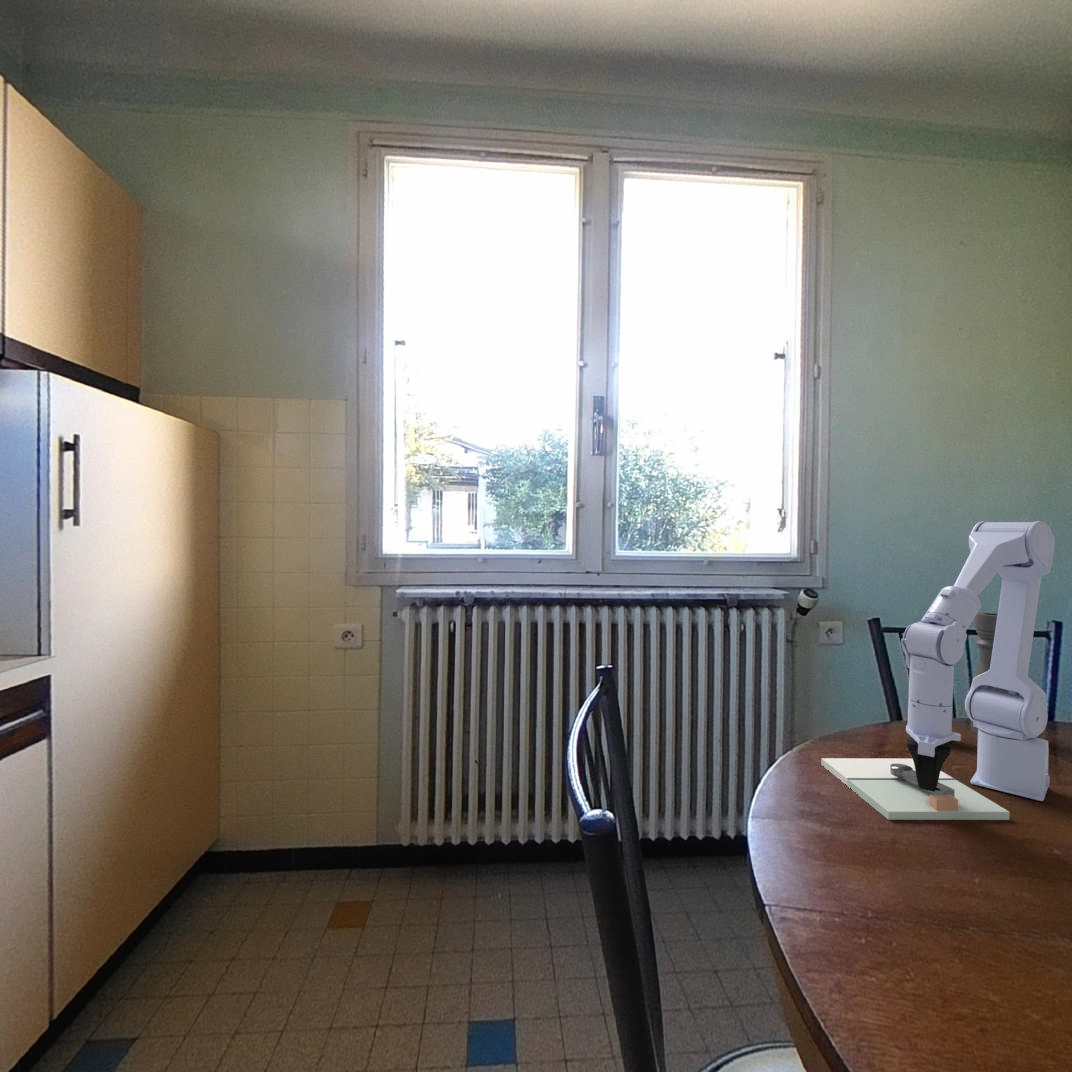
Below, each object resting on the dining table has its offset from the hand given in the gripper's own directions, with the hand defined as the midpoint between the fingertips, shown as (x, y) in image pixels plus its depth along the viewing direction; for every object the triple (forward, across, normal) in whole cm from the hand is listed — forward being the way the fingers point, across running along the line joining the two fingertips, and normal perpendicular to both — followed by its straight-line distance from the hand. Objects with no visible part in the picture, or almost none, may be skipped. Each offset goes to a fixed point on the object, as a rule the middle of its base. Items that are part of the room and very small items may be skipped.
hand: (926, 789), depth 94 cm
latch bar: (+1, +4, +1) cm, 4 cm away
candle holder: (+2, +48, -9) cm, 48 cm away
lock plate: (+3, +5, +3) cm, 6 cm away
